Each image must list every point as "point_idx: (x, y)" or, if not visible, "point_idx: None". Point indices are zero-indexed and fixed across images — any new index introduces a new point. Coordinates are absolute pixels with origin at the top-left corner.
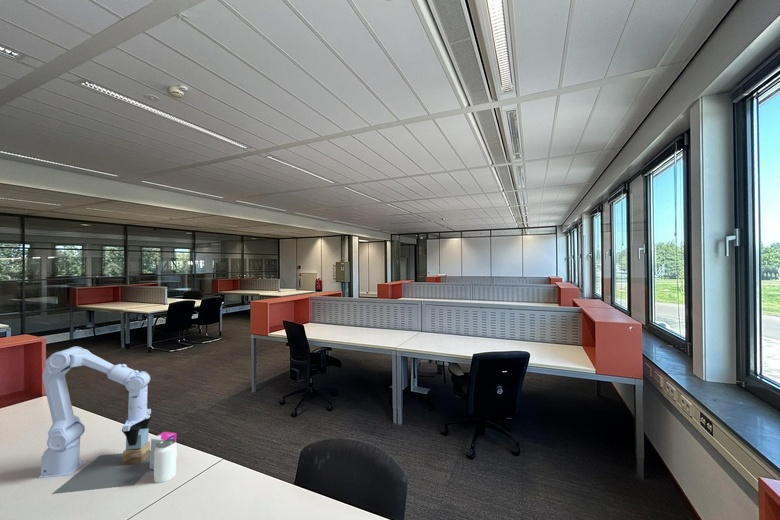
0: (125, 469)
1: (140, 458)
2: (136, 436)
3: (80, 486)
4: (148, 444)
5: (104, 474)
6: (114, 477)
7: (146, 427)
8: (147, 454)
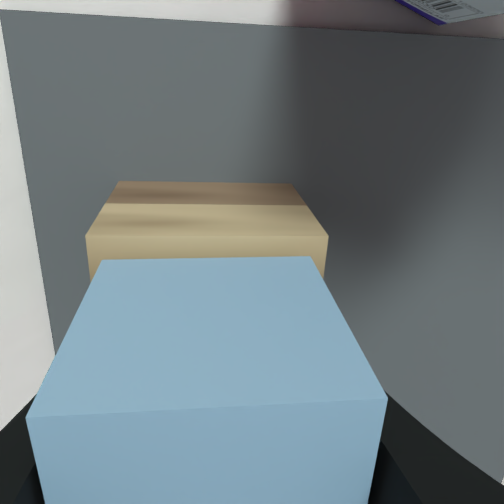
0: (355, 267)
1: (303, 202)
2: (440, 447)
3: (479, 429)
4: (132, 227)
5: (380, 377)
6: (454, 287)
7: (3, 486)
8: (161, 188)
